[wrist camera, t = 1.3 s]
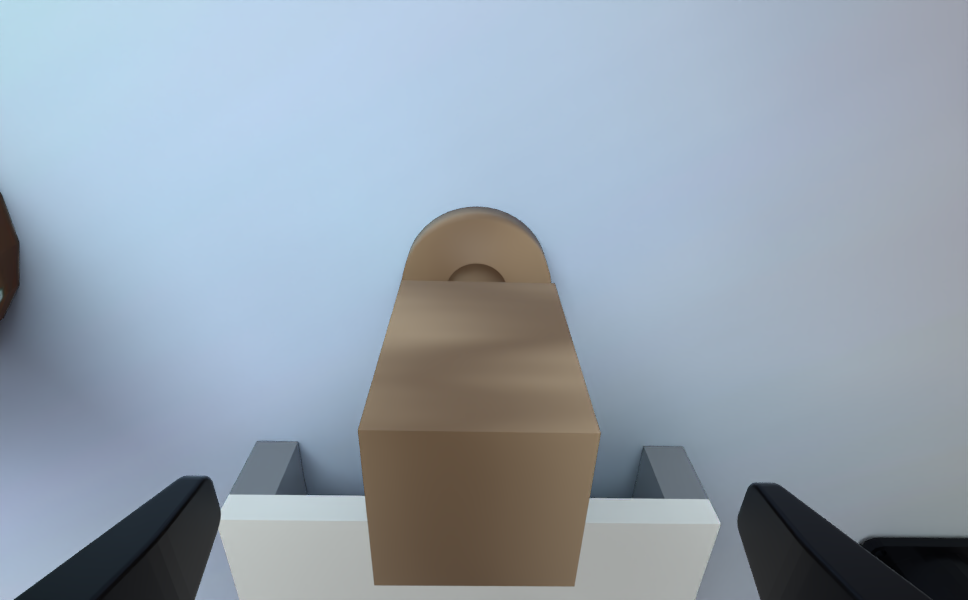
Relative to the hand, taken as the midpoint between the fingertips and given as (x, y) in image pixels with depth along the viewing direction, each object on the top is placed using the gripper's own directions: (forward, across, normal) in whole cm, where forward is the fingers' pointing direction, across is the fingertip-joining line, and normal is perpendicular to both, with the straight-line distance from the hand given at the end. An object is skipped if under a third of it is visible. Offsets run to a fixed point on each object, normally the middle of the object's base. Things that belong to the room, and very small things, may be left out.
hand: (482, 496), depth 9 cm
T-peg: (+9, 0, 0) cm, 9 cm away
